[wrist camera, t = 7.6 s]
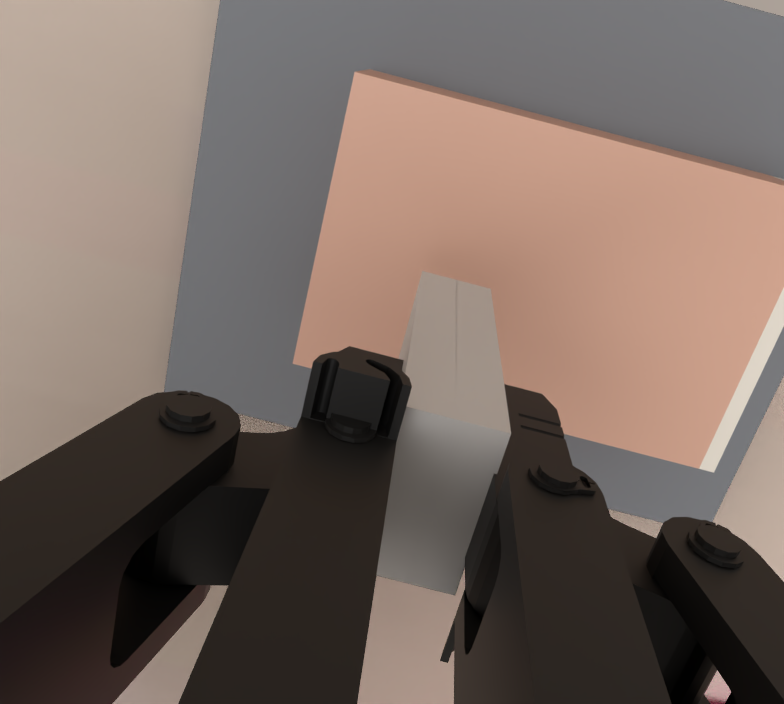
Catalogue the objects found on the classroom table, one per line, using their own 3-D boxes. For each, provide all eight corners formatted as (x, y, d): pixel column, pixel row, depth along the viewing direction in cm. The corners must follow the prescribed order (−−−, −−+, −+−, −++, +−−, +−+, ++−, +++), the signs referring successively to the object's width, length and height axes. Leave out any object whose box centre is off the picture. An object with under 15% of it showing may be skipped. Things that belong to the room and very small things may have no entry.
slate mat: (171, 386, 30) (163, 394, 29) (245, -125, 23) (238, -131, 23) (700, 522, 30) (706, 533, 30) (924, 58, 24) (939, 58, 23)
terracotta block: (292, 363, 24) (713, 472, 24) (354, 71, 21) (843, 201, 21) (314, 322, 28) (679, 417, 28) (370, 69, 24) (784, 179, 25)
